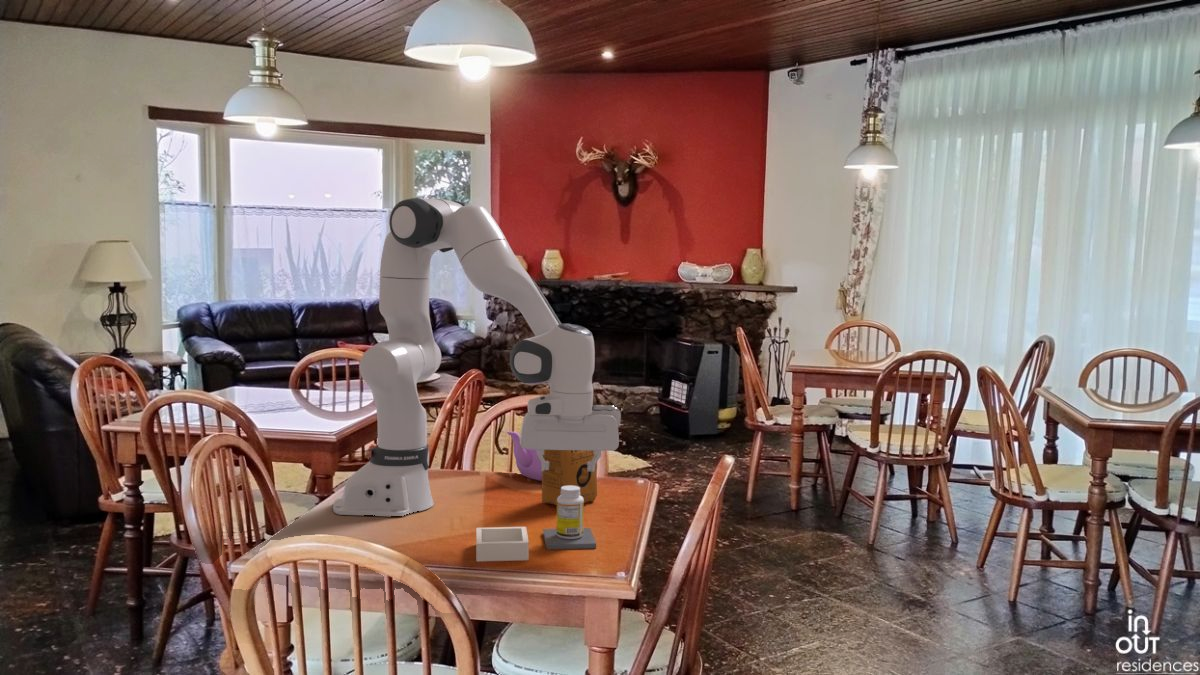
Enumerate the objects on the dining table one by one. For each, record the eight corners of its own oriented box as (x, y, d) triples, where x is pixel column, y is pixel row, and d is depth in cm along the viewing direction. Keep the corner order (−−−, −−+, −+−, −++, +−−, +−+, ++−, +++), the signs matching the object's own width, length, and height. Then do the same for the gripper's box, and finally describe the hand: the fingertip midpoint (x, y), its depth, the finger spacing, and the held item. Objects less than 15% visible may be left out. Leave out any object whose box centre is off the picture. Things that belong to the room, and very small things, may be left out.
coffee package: (603, 502, 215) (605, 411, 212) (562, 512, 206) (564, 417, 204) (575, 493, 222) (577, 405, 220) (536, 502, 214) (537, 411, 211)
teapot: (548, 463, 253) (549, 410, 251) (595, 479, 236) (597, 422, 235) (479, 475, 238) (479, 419, 237) (524, 492, 222) (524, 432, 221)
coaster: (546, 549, 180) (546, 544, 180) (543, 533, 190) (543, 529, 190) (596, 548, 182) (596, 543, 182) (590, 532, 192) (590, 528, 192)
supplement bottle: (568, 530, 190) (569, 482, 189) (588, 536, 186) (589, 487, 185) (550, 536, 186) (551, 487, 185) (570, 542, 182) (571, 492, 181)
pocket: (476, 561, 173) (476, 543, 172) (476, 544, 183) (476, 527, 182) (528, 560, 174) (528, 542, 174) (525, 543, 184) (525, 526, 184)
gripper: (619, 402, 188) (615, 467, 189) (520, 400, 185) (518, 466, 187) (623, 408, 182) (620, 475, 183) (522, 406, 179) (519, 474, 180)
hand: (568, 470), depth 185 cm, fingers open, 8 cm apart
